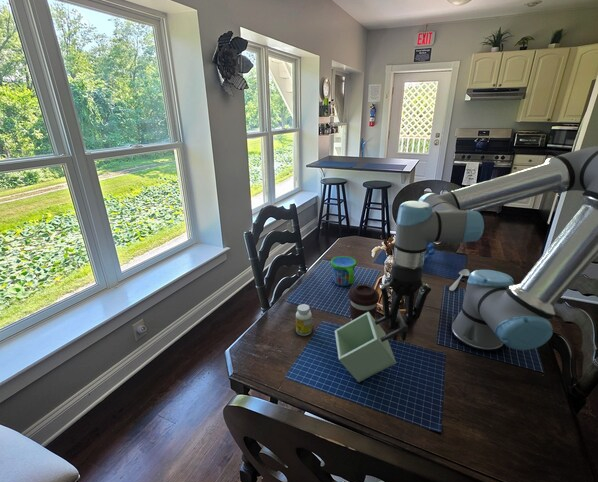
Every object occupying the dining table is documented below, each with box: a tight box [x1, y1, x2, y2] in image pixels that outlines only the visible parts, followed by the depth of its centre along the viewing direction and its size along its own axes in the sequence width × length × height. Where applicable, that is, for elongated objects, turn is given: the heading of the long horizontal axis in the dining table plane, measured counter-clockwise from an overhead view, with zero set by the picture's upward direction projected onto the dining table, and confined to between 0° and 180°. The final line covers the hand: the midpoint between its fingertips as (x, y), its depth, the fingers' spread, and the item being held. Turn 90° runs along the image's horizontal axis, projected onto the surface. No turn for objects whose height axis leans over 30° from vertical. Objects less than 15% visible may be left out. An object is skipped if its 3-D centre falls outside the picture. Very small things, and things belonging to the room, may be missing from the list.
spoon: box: [448, 268, 471, 292], centre depth 138 cm, size 4×21×2 cm, turn 138°
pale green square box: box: [334, 309, 409, 383], centre depth 90 cm, size 20×12×10 cm
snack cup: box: [330, 255, 357, 287], centre depth 137 cm, size 16×10×10 cm
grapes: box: [425, 242, 436, 261], centre depth 154 cm, size 12×7×12 cm, turn 46°
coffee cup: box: [348, 284, 380, 322], centre depth 108 cm, size 10×10×15 cm
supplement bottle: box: [295, 303, 313, 337], centre depth 107 cm, size 5×5×10 cm
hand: (398, 337), depth 90 cm, fingers closed on pale green square box, 2 cm apart
